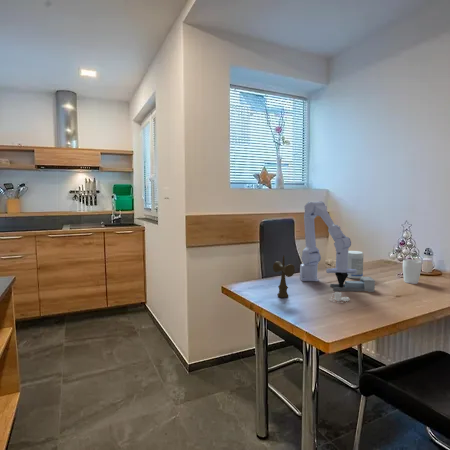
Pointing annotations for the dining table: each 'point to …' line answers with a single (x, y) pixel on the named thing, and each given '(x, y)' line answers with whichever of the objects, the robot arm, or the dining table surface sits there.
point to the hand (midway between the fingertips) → (340, 287)
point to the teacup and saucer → (339, 297)
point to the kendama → (283, 276)
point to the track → (368, 286)
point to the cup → (411, 270)
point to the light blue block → (354, 284)
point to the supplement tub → (355, 263)
